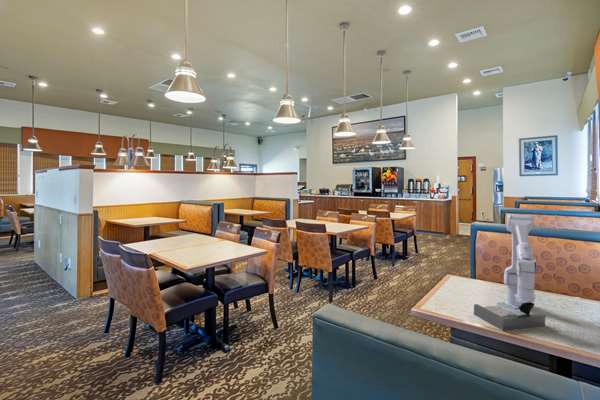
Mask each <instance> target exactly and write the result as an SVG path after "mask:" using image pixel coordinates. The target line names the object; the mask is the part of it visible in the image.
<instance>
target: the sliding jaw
mask: <svg viewBox="0 0 600 400" xmlns="http://www.w3.org/2000/svg"><path fill="white" fill-rule="evenodd" d="M496 306H500V307H501V308H502V309H504V310H509V311H512V312H514V313H515V314H516V316H519V315H527V314H525V313H523V312H521V311H520V309H518V308H517V309H516V308H513V307H511V306H509V305H507V304H505V303H503V302H502V301H498V302H496Z"/></svg>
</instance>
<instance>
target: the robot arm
mask: <svg viewBox="0 0 600 400" xmlns="http://www.w3.org/2000/svg"><path fill="white" fill-rule="evenodd" d="M534 221H535V219H534V216H533V215H532V214H529V215H528V214H527V215H526V214H524V215H523V214H511V213H510V214H508V215H506V230H507V232H510V234H511V265H510V266H507V267H506V268H505V269H504V273H503V283H504V285H505V286H506V300H502V301H501V302H502V303H504V304H506V305H508V306H510V307H512V308H515V309H517V310H519V311H521V312H523V313H525V314H527V315H529V314H530V313H531V311H532V309H533V308H534V306H535V303H534V302H535V300H536V294H535V278H536V275H535V274H537V272H538V262H537V260H536V258H535V256H534V248H533V246H532V245H531V244H529V242H530V241H529V233H530V232H531V230H532V229H533V227H534V225H535V224H534V223H535V222H534Z"/></svg>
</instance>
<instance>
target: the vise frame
mask: <svg viewBox="0 0 600 400" xmlns="http://www.w3.org/2000/svg"><path fill="white" fill-rule="evenodd" d="M484 307H485V306H482V305H479V304H478V303H475V304H473V315H474V316H476V317H478V318H479V319H481V320H483V321H485V322H487V323H488V324H491V325H492V326H493V327H496V328H497V329H499V330H501V331H512V330H519V329H520V330H521V329H530V328H538V327H546V314H543V313H531V314H529V315H519V316H509V317H501V316H499V315H497V314H495V313H494V312H492V311H490V310H488V309H486V308H484Z"/></svg>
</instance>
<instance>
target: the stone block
mask: <svg viewBox="0 0 600 400" xmlns="http://www.w3.org/2000/svg"><path fill="white" fill-rule="evenodd" d="M483 307H484V308H486V309H488V310H490V311H492V312H494V313H495V314H497V315H499V316H501V317H509V316H516V314H515V313H514V312H512V311H509V310H504V309H502V308H501V307H500V306H497V305H488V306H487V305H486V306H483Z"/></svg>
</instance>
